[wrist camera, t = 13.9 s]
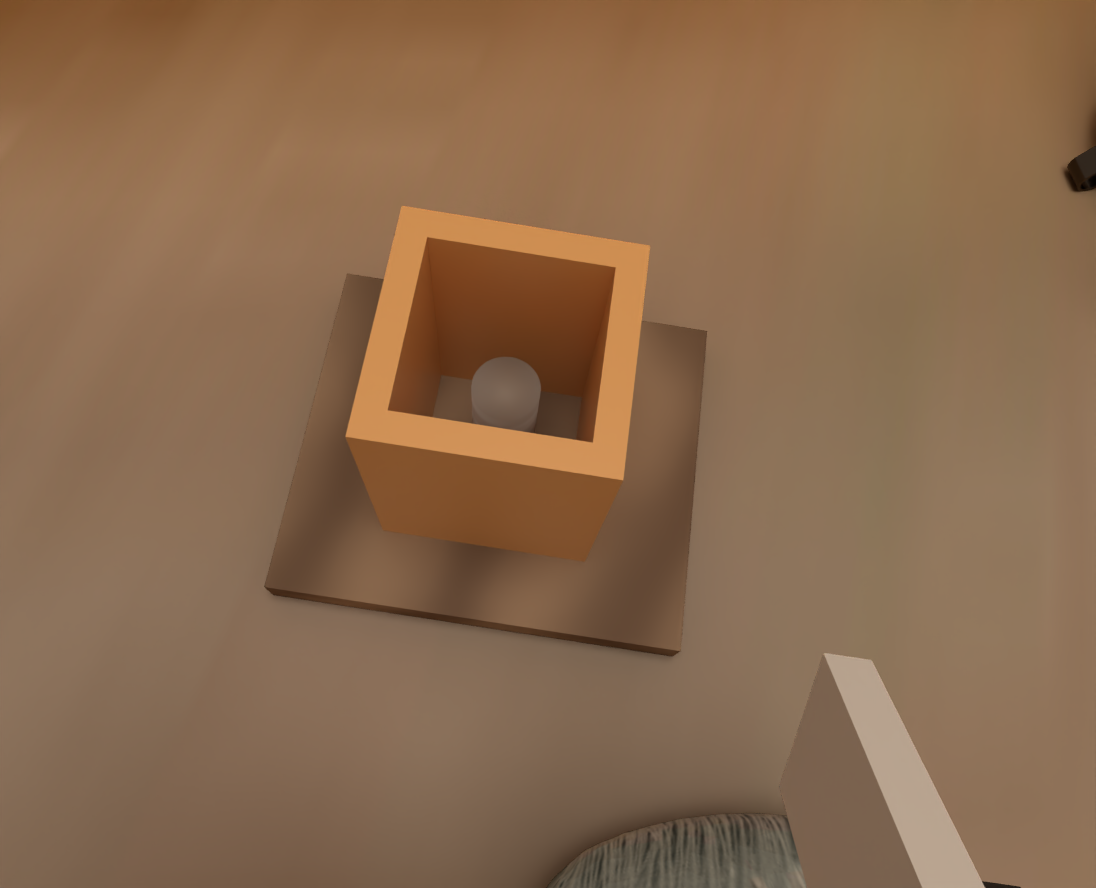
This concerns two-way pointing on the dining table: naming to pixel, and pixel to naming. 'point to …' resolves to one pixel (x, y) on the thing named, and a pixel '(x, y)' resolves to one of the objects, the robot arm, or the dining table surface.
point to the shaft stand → (491, 573)
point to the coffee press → (1084, 170)
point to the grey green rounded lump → (692, 856)
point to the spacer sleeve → (470, 341)
